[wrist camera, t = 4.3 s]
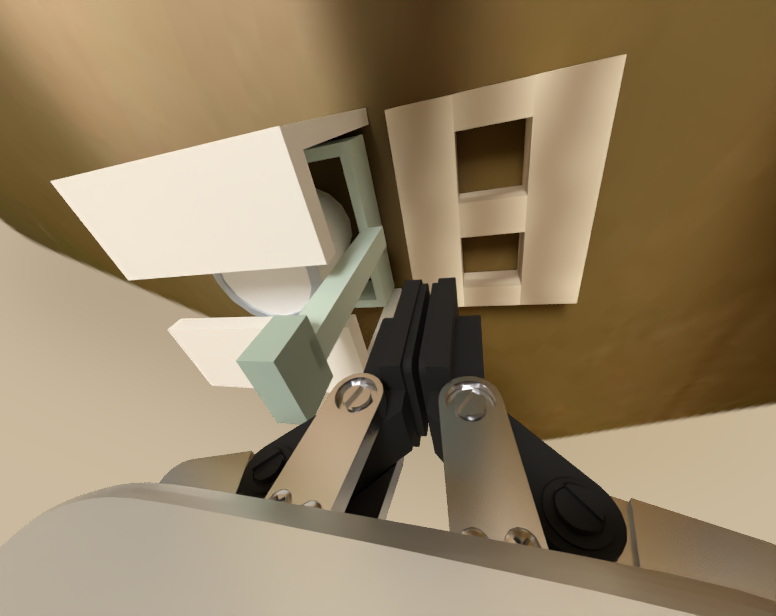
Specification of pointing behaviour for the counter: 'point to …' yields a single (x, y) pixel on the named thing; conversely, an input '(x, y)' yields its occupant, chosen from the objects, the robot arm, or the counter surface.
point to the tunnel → (222, 228)
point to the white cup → (288, 273)
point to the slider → (323, 302)
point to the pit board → (510, 204)
